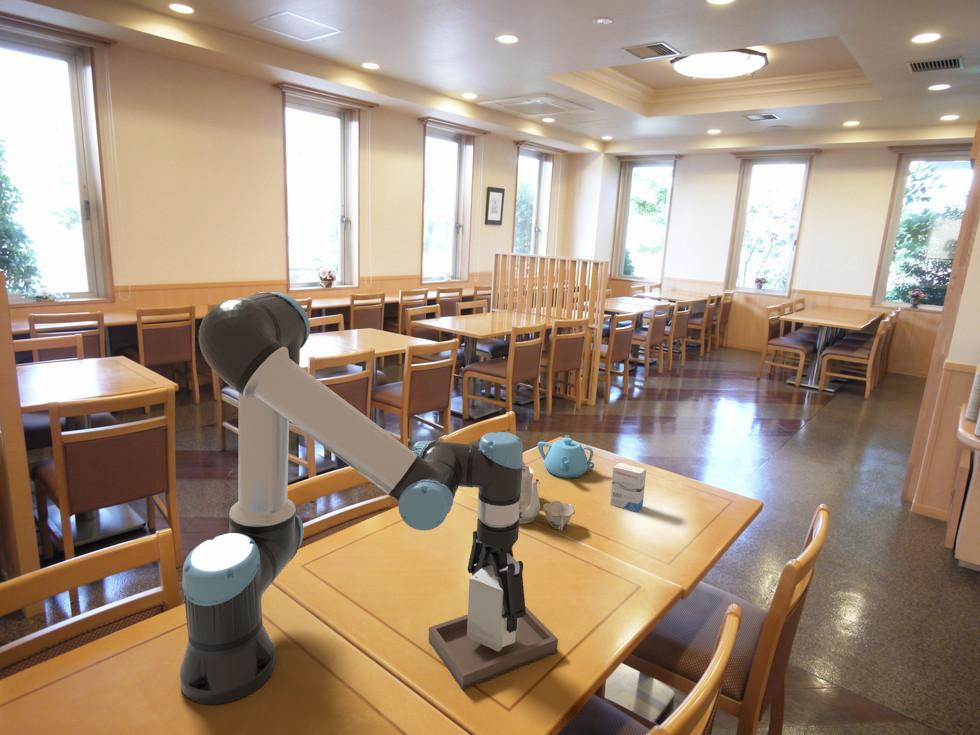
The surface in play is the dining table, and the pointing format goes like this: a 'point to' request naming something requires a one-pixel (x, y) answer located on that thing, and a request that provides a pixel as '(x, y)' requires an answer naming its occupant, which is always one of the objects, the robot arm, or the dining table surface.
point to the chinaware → (530, 503)
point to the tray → (489, 650)
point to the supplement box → (485, 608)
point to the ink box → (628, 487)
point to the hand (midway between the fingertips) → (493, 626)
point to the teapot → (566, 458)
